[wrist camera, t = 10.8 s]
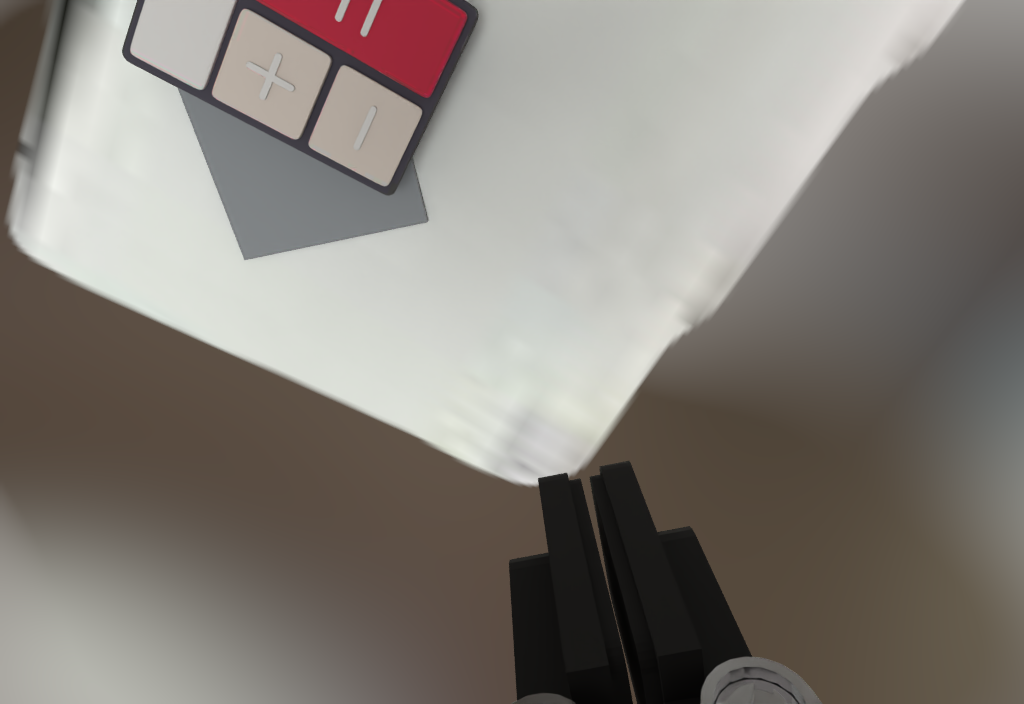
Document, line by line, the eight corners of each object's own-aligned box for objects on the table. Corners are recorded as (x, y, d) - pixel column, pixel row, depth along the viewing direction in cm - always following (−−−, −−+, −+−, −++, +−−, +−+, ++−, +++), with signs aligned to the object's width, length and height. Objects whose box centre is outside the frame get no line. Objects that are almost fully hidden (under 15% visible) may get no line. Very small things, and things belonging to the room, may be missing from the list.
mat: (379, 30, 35) (378, 30, 35) (427, 220, 40) (427, 221, 40) (175, 75, 36) (172, 75, 35) (246, 258, 40) (244, 260, 40)
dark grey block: (391, 201, 35) (111, 56, 31) (395, 189, 39) (147, 59, 35) (483, 9, 32) (184, -183, 28) (477, 17, 36) (215, -150, 32)
